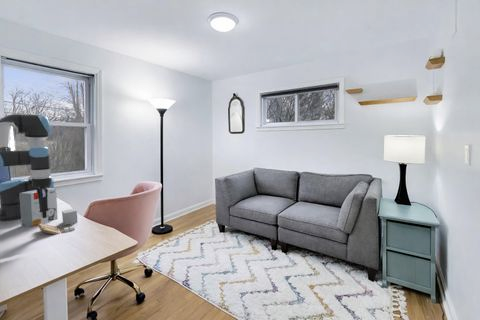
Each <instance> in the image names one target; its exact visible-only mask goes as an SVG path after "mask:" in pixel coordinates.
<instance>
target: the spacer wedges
mask: <svg viewBox="0 0 480 320" xmlns="http://www.w3.org/2000/svg"><path fill="white" fill-rule="evenodd" d="M71 226H72V227H70V231H69V228H68V227H67V228H64V231H65V232H64V233H67V231H68V232H71V230H72V231H76V228H75V226H74V225H71Z"/></svg>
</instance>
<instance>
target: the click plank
mask: <svg viewBox="0 0 480 320" xmlns="http://www.w3.org/2000/svg"><path fill="white" fill-rule="evenodd" d="M37 226H38V228H39V230H40V232H42V233H46V234H50V235H58V234H61V232H60V231H59V229H58V228H57V227H58V226H53V225H49V224H41V223H39V224H38V225H37Z"/></svg>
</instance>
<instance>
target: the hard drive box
mask: <svg viewBox="0 0 480 320" xmlns="http://www.w3.org/2000/svg"><path fill="white" fill-rule="evenodd" d="M47 189H48V194H47V196H48V197H47V202H48V211H47V212H48V222H51V221H55V220H58V219H59V218H58V200H57V199H58V198H57V188H55V187H54V188H47ZM19 197H20V211H21V218H20V223H21V227H27V228H34V227H36V226H38V224H39V223H41V215H40V212H39V211H40V208H39V198H38V193H37V190H33V191H27V192H22V193H19Z"/></svg>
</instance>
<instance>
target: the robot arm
mask: <svg viewBox="0 0 480 320" xmlns="http://www.w3.org/2000/svg"><path fill="white" fill-rule="evenodd" d="M49 121H50V120H49V119H48V117H47V116H45V115H39V114H19V113H18V114H17V113H15V114H8V115H6V116H3V117H2V118H0V167H1V168H3V167H14V166H15V167H16V166H30V172H29V174H30V176H28V179H27V180H25V179H23V178H19V179H12V180H7V181H3V182H0V220H2V221H5V222H6V221H14V220H19V219H21V211H20V197H19V193H22V192H27V191H33V190H37V193H38V198H39V208H40V211H39V212H40V215H41V224H46V225H48V224H49V221H48V212H47V211H48V202H47V197H48V196H47V194H48V189H47V188H55V179H54V178H52V174H51V165H50V164H51V163H50V150H49V147H47V138H49V135H51V134H52V130H51V127H50V126H51V125H50V122H49ZM17 134H18V135H19V134H20V135H21V134H22V135H24V137H25V138H26V139H27V142H28V150H17Z"/></svg>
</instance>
